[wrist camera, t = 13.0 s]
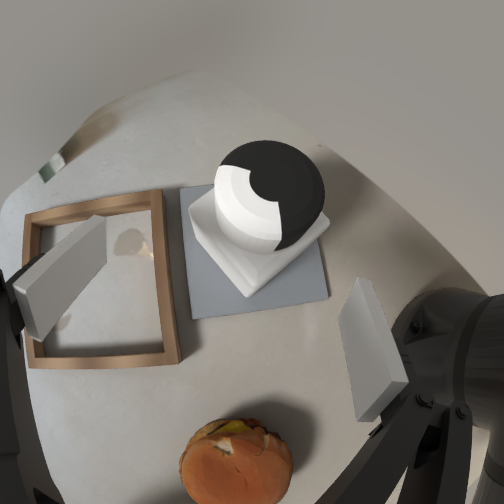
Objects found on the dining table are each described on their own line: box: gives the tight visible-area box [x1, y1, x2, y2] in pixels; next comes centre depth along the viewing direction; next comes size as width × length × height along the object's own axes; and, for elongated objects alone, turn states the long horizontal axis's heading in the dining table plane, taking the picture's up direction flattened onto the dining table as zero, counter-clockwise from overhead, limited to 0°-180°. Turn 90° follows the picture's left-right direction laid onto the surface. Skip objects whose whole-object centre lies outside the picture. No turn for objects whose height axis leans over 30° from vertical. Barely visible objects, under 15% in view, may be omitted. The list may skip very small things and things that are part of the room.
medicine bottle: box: [188, 140, 330, 298], centre depth 21 cm, size 7×7×12 cm
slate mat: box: [179, 184, 329, 319], centre depth 27 cm, size 12×12×1 cm
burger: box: [179, 418, 293, 504], centre depth 20 cm, size 10×9×5 cm
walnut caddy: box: [22, 189, 182, 369], centre depth 24 cm, size 15×15×2 cm
